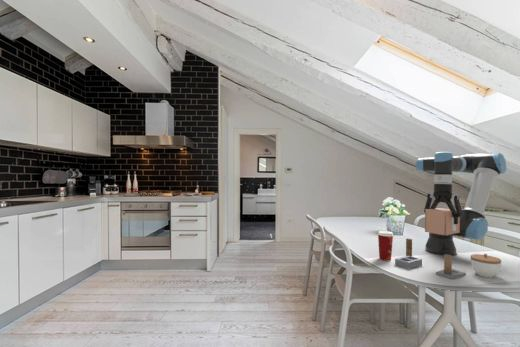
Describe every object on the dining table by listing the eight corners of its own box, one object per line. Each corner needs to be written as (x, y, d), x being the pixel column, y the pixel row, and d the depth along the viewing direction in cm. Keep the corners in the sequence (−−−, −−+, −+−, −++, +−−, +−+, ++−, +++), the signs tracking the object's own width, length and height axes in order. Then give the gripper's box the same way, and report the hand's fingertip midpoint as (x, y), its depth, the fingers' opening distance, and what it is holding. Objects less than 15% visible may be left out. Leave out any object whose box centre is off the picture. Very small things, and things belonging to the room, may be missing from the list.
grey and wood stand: (448, 270, 131) (448, 250, 131) (465, 274, 125) (465, 254, 125) (435, 274, 125) (436, 254, 125) (453, 279, 120) (453, 258, 119)
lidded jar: (507, 280, 119) (507, 258, 119) (478, 278, 121) (479, 256, 121) (491, 271, 130) (491, 251, 130) (465, 270, 131) (465, 250, 131)
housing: (439, 229, 146) (439, 208, 146) (459, 232, 138) (459, 210, 138) (424, 231, 139) (425, 209, 139) (445, 235, 131) (445, 211, 131)
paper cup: (395, 261, 143) (395, 234, 143) (378, 260, 145) (379, 233, 144) (391, 257, 151) (391, 231, 151) (375, 256, 152) (376, 230, 152)
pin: (407, 256, 152) (408, 238, 152) (412, 258, 150) (413, 239, 150) (404, 257, 150) (405, 238, 150) (409, 258, 148) (410, 239, 148)
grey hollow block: (408, 261, 144) (408, 255, 144) (421, 265, 138) (422, 259, 138) (395, 264, 138) (395, 258, 138) (408, 269, 132) (408, 262, 132)
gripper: (416, 182, 146) (415, 225, 146) (464, 184, 127) (464, 234, 127) (424, 182, 150) (423, 224, 150) (472, 184, 131) (471, 232, 131)
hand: (442, 229), depth 139 cm, fingers closed on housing, 9 cm apart
